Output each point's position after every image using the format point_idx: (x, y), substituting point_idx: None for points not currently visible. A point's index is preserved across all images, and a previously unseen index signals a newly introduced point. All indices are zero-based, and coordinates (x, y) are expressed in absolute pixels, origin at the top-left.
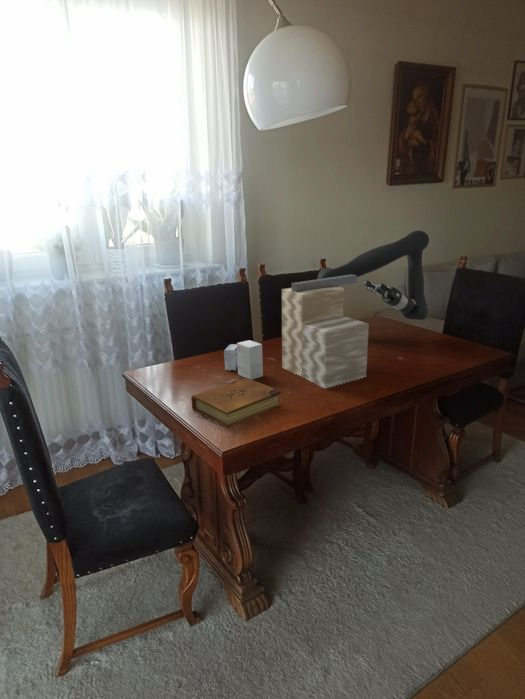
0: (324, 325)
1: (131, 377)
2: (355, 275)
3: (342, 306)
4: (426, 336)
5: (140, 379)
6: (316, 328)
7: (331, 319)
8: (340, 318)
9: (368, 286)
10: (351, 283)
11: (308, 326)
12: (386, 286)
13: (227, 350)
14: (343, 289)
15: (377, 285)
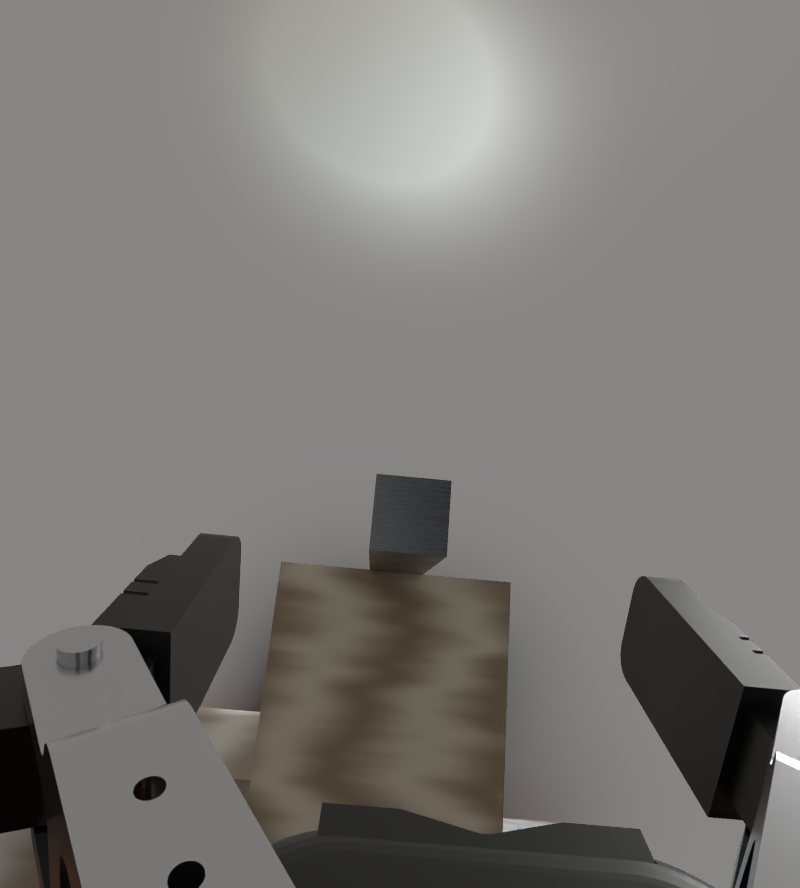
0: (205, 720)
1: (554, 821)
2: (379, 476)
3: (264, 697)
4: None
5: (533, 823)
6: (204, 708)
7: (251, 748)
8: (223, 761)
9: (670, 732)
10: (369, 555)
11: (252, 712)
12: (133, 619)
13: (511, 828)
14: (280, 571)
15: (771, 796)
